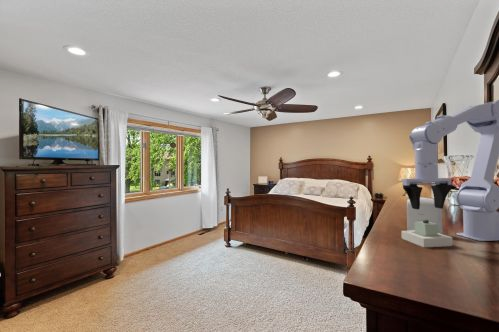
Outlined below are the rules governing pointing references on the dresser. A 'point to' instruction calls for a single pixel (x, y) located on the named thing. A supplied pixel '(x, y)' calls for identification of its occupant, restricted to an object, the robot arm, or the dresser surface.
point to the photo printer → (424, 214)
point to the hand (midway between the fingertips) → (427, 208)
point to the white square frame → (427, 239)
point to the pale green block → (426, 228)
